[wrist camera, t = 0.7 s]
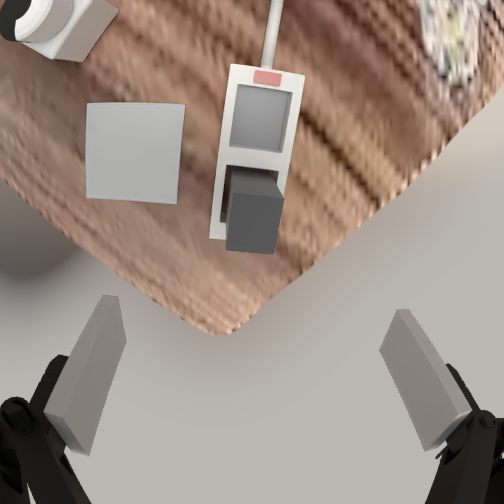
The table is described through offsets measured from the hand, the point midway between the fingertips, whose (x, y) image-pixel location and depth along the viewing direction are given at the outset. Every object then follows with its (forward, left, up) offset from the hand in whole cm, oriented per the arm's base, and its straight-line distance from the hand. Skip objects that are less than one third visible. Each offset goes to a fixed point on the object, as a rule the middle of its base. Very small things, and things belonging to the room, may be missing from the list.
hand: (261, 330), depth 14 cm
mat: (-3, -12, -23) cm, 26 cm away
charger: (0, +1, -23) cm, 23 cm away
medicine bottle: (-18, -20, -23) cm, 35 cm away
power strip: (-8, +1, -23) cm, 24 cm away
